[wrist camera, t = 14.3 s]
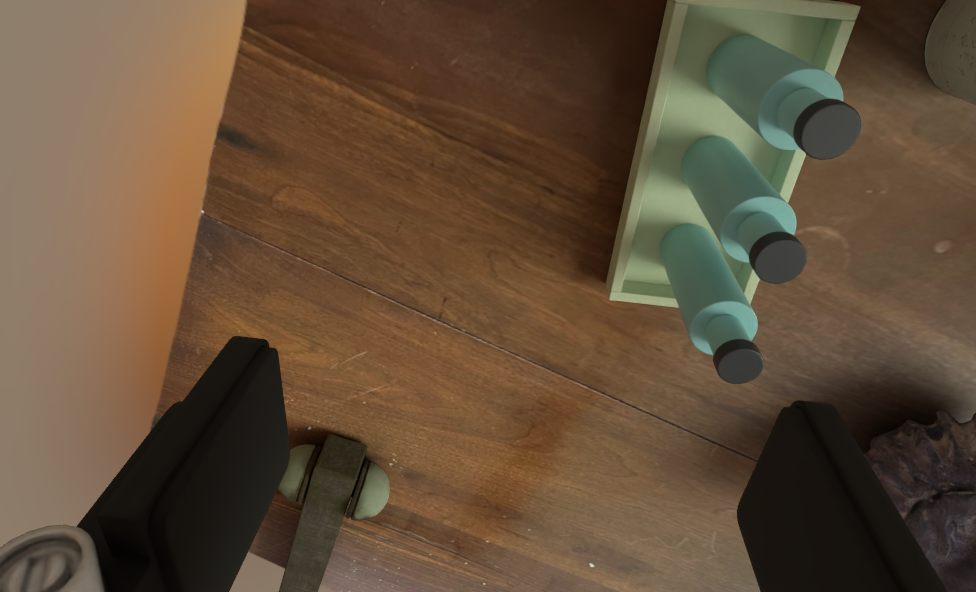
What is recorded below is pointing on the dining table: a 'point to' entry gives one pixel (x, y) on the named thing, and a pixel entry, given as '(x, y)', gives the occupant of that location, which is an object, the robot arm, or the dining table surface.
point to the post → (327, 503)
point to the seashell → (934, 491)
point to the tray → (708, 127)
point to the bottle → (712, 302)
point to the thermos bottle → (953, 49)
